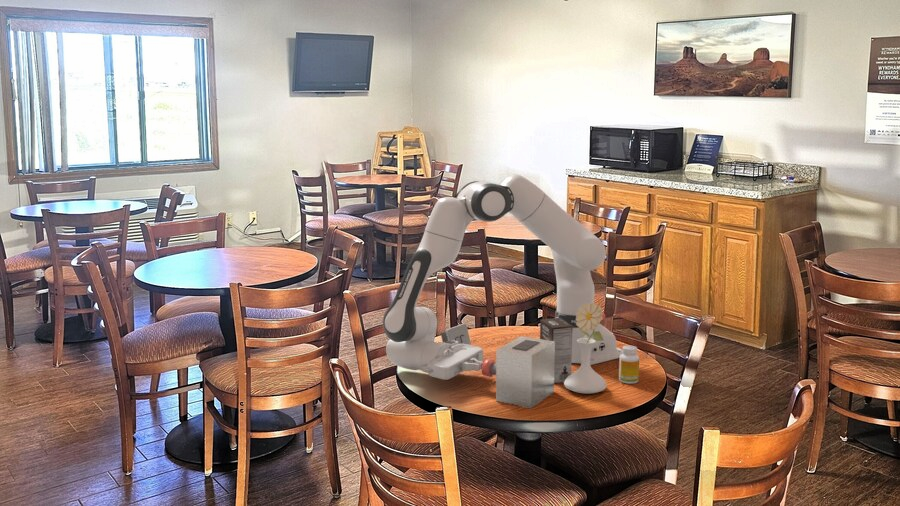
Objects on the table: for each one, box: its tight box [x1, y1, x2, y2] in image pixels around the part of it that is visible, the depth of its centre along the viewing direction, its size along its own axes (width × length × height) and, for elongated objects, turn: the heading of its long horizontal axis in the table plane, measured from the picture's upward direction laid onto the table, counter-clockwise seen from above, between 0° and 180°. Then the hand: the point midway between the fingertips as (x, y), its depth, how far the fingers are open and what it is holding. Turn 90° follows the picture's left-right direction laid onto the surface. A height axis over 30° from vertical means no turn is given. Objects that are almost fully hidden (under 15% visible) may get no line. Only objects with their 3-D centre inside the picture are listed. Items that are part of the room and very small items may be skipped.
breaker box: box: [495, 335, 555, 409], centre depth 219 cm, size 10×14×14 cm
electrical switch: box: [440, 323, 472, 345], centre depth 255 cm, size 9×5×9 cm, turn 141°
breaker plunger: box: [481, 358, 496, 378], centre depth 222 cm, size 10×4×4 cm, turn 59°
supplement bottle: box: [618, 344, 640, 385], centre depth 231 cm, size 5×5×10 cm
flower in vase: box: [563, 301, 608, 395], centre depth 222 cm, size 13×11×25 cm
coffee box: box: [539, 317, 573, 384], centre depth 233 cm, size 9×6×16 cm
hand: (481, 366), depth 226 cm, fingers closed
